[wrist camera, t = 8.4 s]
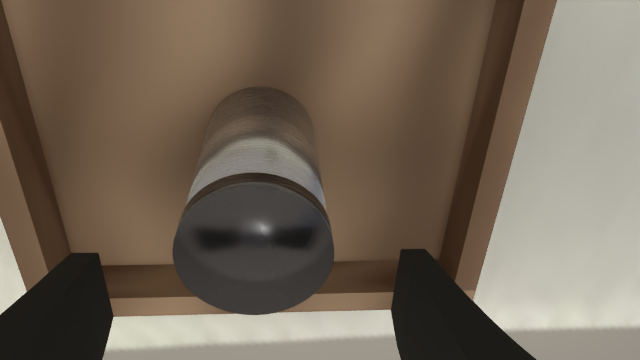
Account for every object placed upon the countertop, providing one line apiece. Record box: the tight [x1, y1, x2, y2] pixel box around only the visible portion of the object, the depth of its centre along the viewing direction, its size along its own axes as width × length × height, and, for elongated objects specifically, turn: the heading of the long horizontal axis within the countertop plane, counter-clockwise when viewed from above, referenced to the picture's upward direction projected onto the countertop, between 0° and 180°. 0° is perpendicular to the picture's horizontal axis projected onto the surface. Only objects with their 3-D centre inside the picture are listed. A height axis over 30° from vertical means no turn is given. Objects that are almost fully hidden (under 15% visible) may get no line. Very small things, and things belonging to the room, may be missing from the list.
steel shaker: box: [172, 86, 334, 315], centre depth 16 cm, size 4×4×7 cm
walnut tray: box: [0, 0, 557, 317], centre depth 18 cm, size 18×14×2 cm
